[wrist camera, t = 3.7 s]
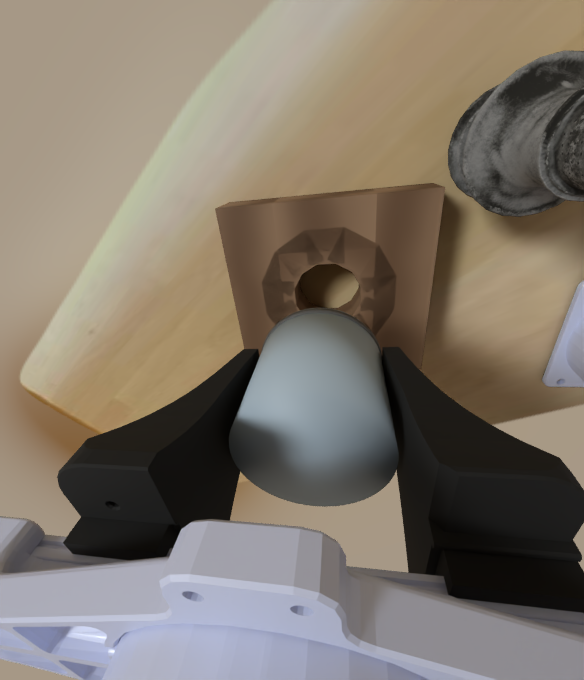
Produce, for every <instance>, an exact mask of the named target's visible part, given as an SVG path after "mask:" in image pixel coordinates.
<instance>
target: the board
mask: <svg viewBox="0 0 584 680" xmlns="http://www.w3.org/2000/svg"><path fill="white" fill-rule="evenodd" d="M444 192H445V187H442V186H440V185H437V184H434V183H429V184H418V185H408V186H397V187H387V188H376V189H366V190H355V191H345V192H334V193H324V194H313V195H303V196H292V197H282V198H271V199H261V200H250V201H240V202H229V203H227V204H225V205H222V206H220V207H218V208H216V209H215V210H216V215H217V220H218V224H219V229H220V234H221V239H222V244H223V248H224V253H225V258H226V263H227V267H228V272H229V277H230V282H231V286H232V291H233V296H234V301H235V306H236V310H237V315H238V320H239V325H240V329H241V334H242V339H243V344H244V349H258V351H259V356H260V355H261V351H262V347H263V344H264V342H265V339H266V337H267V335H268V333H269V332H270V330H271V329H272V328H273V327H274V326H275V325H276V324H277V323H278V322H279V321H280V320H282V319H283V318H285V317H287V316H288V315H290V314H292V313H295V312H297V311H300V310H304V309H309V308H320V307H318V306H316V305H314V304H312V303H310V302H309V301H308V300H307V298H306V297H305V296H304V294H303V293H302V291H301V288H300V277H301V275H302V274H303V273H305V272H306V271H308V270H309V269H311V268H312V267H314V266H316V265H320V264H337V265H339V266H341V267H343V268H345V269H347V270H349V271H351V272H352V273H353V275H354V276H355V278H356V279H357V281H358V282H359V289H358V290H357V292H356V293H355V295H354V297H353V298H352V300H351V301H350V302H348V303H346V304H344V305H342V306H341V307H339V308H329V309H335V310H339V311H342V312H345V313H347V314H350V315H352V316H353V317H355V318H357V319H358V320H360V321H361V322H362V323H364V324H365V325H366V326H367V327H368V328H369V329H370V330H371V332H372V333H373V334H374V335H375V337H376V339H377V341H378V343H379V346H380V348H381V353H382V348H383V347H399V348H400V349H401V350H402V351H403V352H404V353H405V354H406V355H407V357H408V358H409V359H410V360H411V361H412V362H413V363H414V365H415V366H416V367H417V368H418V369H421V366H422V358H423V351H424V343H425V336H426V328H427V321H428V313H429V306H430V298H431V290H432V283H433V275H434V268H435V260H436V253H437V245H438V238H439V230H440V223H441V215H442V207H443V200H444Z"/></svg>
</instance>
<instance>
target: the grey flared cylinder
mask: <svg viewBox="0 0 584 680" xmlns="http://www.w3.org/2000/svg"><path fill="white" fill-rule="evenodd" d="M448 166H449V170H450V174H451V177H452V179H453V181H454V182H455V184H456V186H457V187H458V188H459V189H460V190H461V191H463V192H464V193H465V194H466V195H469V196H471V197H473V198H474V200H475V201H477V202H478V203H479V204H480V205H481V206H483V207H484V208H485V209H486V210H489V211H491V212H494V213H497V214H499V215H502V216H516V217H520V216H526V215H532V214H537V213H540V212H542V211H545V210H547V209H550V208H552V207H555V206H557V205H559V204H560V203H562V202H563V201H565V200H569V201H584V51H561V52H558V53H554V54H550V55H547V56H543V57H540V58H538V59H536V60H534V61H533V62H531V63H529V64H527V65H525V66H524V67H522V68H520V69H518V70H516V71H515V72H514V73H513V74H512V75H511V76H509V77H508V78H507V79H506V80H505V81H504V82H502V83H501V84H499V85H497V86H496V87H494V88H492V89H490V90H488V91H486V92H485V93H484V94H483V95H481V96H480V97H479V98H478V99H477V100H476V101H475V102H473V103H472V104H471V105H470V107H469V108H468V109H467V111H466V112H465V113H464V114H463V116H462V117H461V118H460V120H459V122H458V124H457V126H456V128H455V130H454V132H453V134H452V138H451V142H450V145H449V149H448Z"/></svg>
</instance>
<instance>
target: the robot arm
mask: <svg viewBox="0 0 584 680" xmlns="http://www.w3.org/2000/svg"><path fill="white" fill-rule="evenodd" d="M259 357H260V356H259V351H258V349H244V350H242V351H241V352H240V353H239V354H237V355H236V356H235V357H234V358H233V359H231V360H230V361H229V362H228V363H227V364H226V365H224V366H223V367H222V368H221V369H220V370H218V371H217V372H216V373H215V374H213V375H212V376H211V377H209V378H208V379H207V380H205V381H204V382H203V383H202V384H200V385H199V386H198V387H196V388H195V389H193V390H192V391H190V392H189V393H187V394H186V395H184V396H182V397H181V398H179V399H178V400H176V401H174V402H172V403H171V404H169V405H167V406H165V407H163V408H161V409H159V410H157V411H156V412H154V413H152V414H150V415H147V416H145V417H143V418H141V419H139V420H136V421H134V422H132V423H129V424H127V425H125V426H122V427H120V428H117V429H114V430H111V431H108V432H106V433H103V434H100V435H97V436H94V437H92V438H89V439H87V440H86V441H85V442H84V443H83V445H82V446H81V447H80V448H79V449H78V450H77V452H76V453H75V454H74V455H73V456H72V457H71V458H70V459H69V460H68V462H67V463H66V464H65V465H64V466H63V467H62V468H61V470H60V471H59V473H58V477H57V478H58V483H59V487H60V489H61V490H62V492H63V494H64V495H65V496H66V497H67V498H68V500H69V501H70V503H71V504H72V505H73V506H74V508H75V509H76V510H77V512H78V513H79V514H80V516H82V517H81V518H80V520H79V521H78V522H77V524H76V525H75V527H74V528H73V529H72V531H71V532H70V533H69V535H68V536H67V537H63V536H52V535H45V533H44V531H43V530H42V528H41V527H40V526H39V525H38V524H36V523H35V522H33V521H31V520H28V519H24V518H23V519H22V518H13V517H3V516H0V659H2V660H7V661H11V662H15V663H19V664H23V665H27V666H31V667H35V668H39V669H42V670H47V671H50V672H54V673H57V674H61V675H65V676H68V677H72V678H76V679H79V680H584V572H583V570H582V568H581V567H580V565H579V563H578V562H580V561H581V560H582V555H581V553H580V551H579V549H578V548H577V546H576V544H575V543H574V541H573V538H574V537H575V535H576V534H577V532H578V531H579V529H580V527H581V526H582V524H583V523H584V490H583V488H582V487H581V486H580V484H579V483H578V481H577V480H576V478H575V477H574V476H573V474H572V473H571V472H570V470H569V469H568V468H567V467H566V465H565V464H564V463H563V462H562V460H561V459H560V458H559V457H556V456H554V455H552V454H550V453H547V452H545V451H543V450H540V449H538V448H536V447H534V446H531V445H529V444H527V443H525V442H523V441H520V440H519V439H517V438H514V437H513V436H511V435H509V434H507V433H505V432H503V431H501V430H499V429H497V428H496V427H494V426H492V425H490V424H489V423H487V422H485V421H484V420H482V419H480V418H479V417H477V416H476V415H474V414H472V413H471V412H469V411H468V410H466V409H465V408H463V407H462V406H461V405H459V404H458V403H456V402H455V401H454V400H452V399H451V398H450V397H448V396H447V395H446V394H445V393H443V392H442V391H441V390H440V389H439V388H438V387H437V386H435V385H434V384H433V383H432V382H431V381H430V380H429V379H428V378H427V377H426V376H425V375H424V374H423V373H422V372H421V371H420V370H419V369H418V368H417V367H416V366H415V365H414V363H413V362H412V361H411V360H410V359H409V358H408V357H407V355H406V354H405V353H404V352H403V351H402V350H401V349H400V348H399V347H383V348H382V365H383V371H384V376H385V382H386V387H387V393H388V398H389V404H390V409H391V414H392V420H393V425H394V431H395V436H396V442H397V447H398V453H399V461H398V466H397V476H398V484H399V491H400V499H401V507H402V515H403V524H404V533H405V541H406V551H407V560H408V571H409V573H406V572H397V571H387V570H378V569H367V568H358V567H349V566H346V555H345V554H344V552H343V550H342V548H341V546H340V544H339V543H338V542H337V541H336V540H334V539H332V538H331V537H329V536H328V535H326V534H324V533H323V532H321V531H317V530H312V529H308V528H304V527H298V526H286V525H274V524H262V523H251V522H239V521H230V516H231V510H232V506H233V501H234V497H235V492H236V487H237V483H238V479H239V474H240V470H239V468H238V467H237V466H236V464H235V462H234V460H233V458H232V456H231V453H230V448H229V434H230V430H231V427H232V425H233V422H234V420H235V417H236V415H237V412H238V410H239V407H240V405H241V402H242V400H243V397H244V395H245V392H246V390H247V387H248V385H249V382H250V380H251V377H252V375H253V372H254V370H255V367H256V365H257V362H258V360H259ZM559 379H561V380H559ZM558 380H559V381H558ZM542 381H543V383H544V384H545V385H546V386H549V387H584V281H582V282H581V283H580V284H579V285H578V287H577V289H576V292H575V294H574V297H573V299H572V302H571V305H570V307H569V310H568V313H567V315H566V318H565V320H564V323H563V326H562V328H561V331H560V334H559V336H558V339H557V341H556V344H555V347H554V349H553V352H552V355H551V357H550V360H549V362H548V365H547V368H546V370H545V373H544V376H543V378H542Z"/></svg>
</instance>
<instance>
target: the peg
mask: <svg viewBox="0 0 584 680" xmlns="http://www.w3.org/2000/svg"><path fill="white" fill-rule="evenodd" d="M229 448H230V453H231V456H232V458H233V460H234V462H235V464H236V466H237V467H238V468H239V470H240V471H241V472H242V474H243V475H244V476H245V477H246V478H247V479H249V480H250V481H251V482H252V483H253V484H255V485H256V486H258V487H259V488H261V489H262V490H264V491H266V492H268V493H269V494H272V495H274V496H276V497H278V498H281V499H284V500H287V501H291V502H294V503H298V504H304V505H311V506H339V505H346V504H351V503H355V502H358V501H361V500H364V499H366V498H368V497H371V496H372V495H374V494H376V493H377V492H379V491H380V490H381V489H383V488H384V487H385V486H386V485H387V484H388V483H389V482H390V480H391V479H392V477H393V476H394V474H395V472H396V470H397V466H398V461H399V453H398V447H397V442H396V436H395V431H394V425H393V420H392V414H391V409H390V404H389V398H388V393H387V387H386V382H385V376H384V371H383V365H382V353H381V348H380V346H379V343H378V341H377V339H376V337H375V335H374V334H373V333H372V332H371V330H370V329H369V328H368V327H367V326H366V325H365V324H364V323H362V322H361V321H360V320H358V319H357V318H355V317H353V316H352V315H350V314H347V313H345V312H342V311H339V310H335V309H329V308H309V309H304V310H300V311H297V312H295V313H292V314H290V315H288V316H287V317H285V318H283V319H282V320H280V321H279V322H278V323H277V324H276V325H275V326H274V327H273V328H272V329H271V330H270V332H269V333H268V335H267V337H266V339H265V342H264V344H263V347H262V351H261V355H260V357H259V360H258V362H257V365H256V367H255V370H254V372H253V375H252V377H251V380H250V382H249V385H248V387H247V390H246V392H245V395H244V397H243V400H242V402H241V405H240V407H239V410H238V412H237V415H236V417H235V420H234V422H233V425H232V427H231V430H230V434H229Z"/></svg>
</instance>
